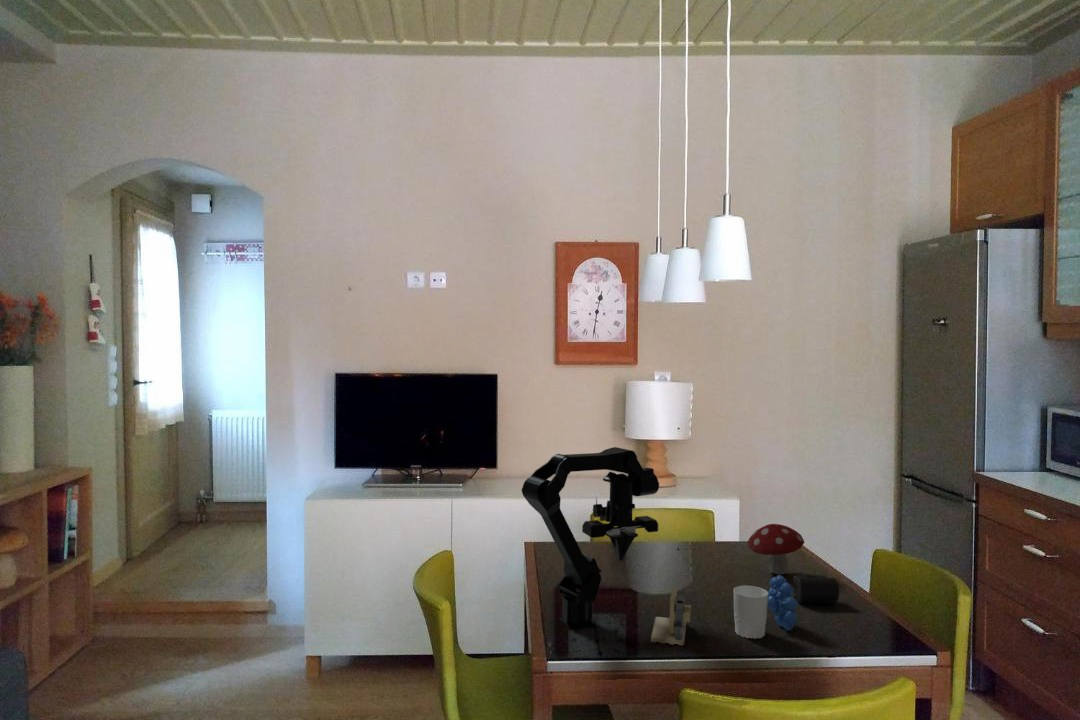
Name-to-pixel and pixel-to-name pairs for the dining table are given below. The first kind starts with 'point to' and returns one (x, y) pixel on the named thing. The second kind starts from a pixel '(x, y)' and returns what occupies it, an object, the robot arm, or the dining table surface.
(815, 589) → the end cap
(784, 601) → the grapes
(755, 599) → the white cup
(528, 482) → the robot arm
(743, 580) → the dining table surface
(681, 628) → the grey two-prong bracket
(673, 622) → the tan notched block
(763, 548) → the decorative mushroom
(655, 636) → the birch board
